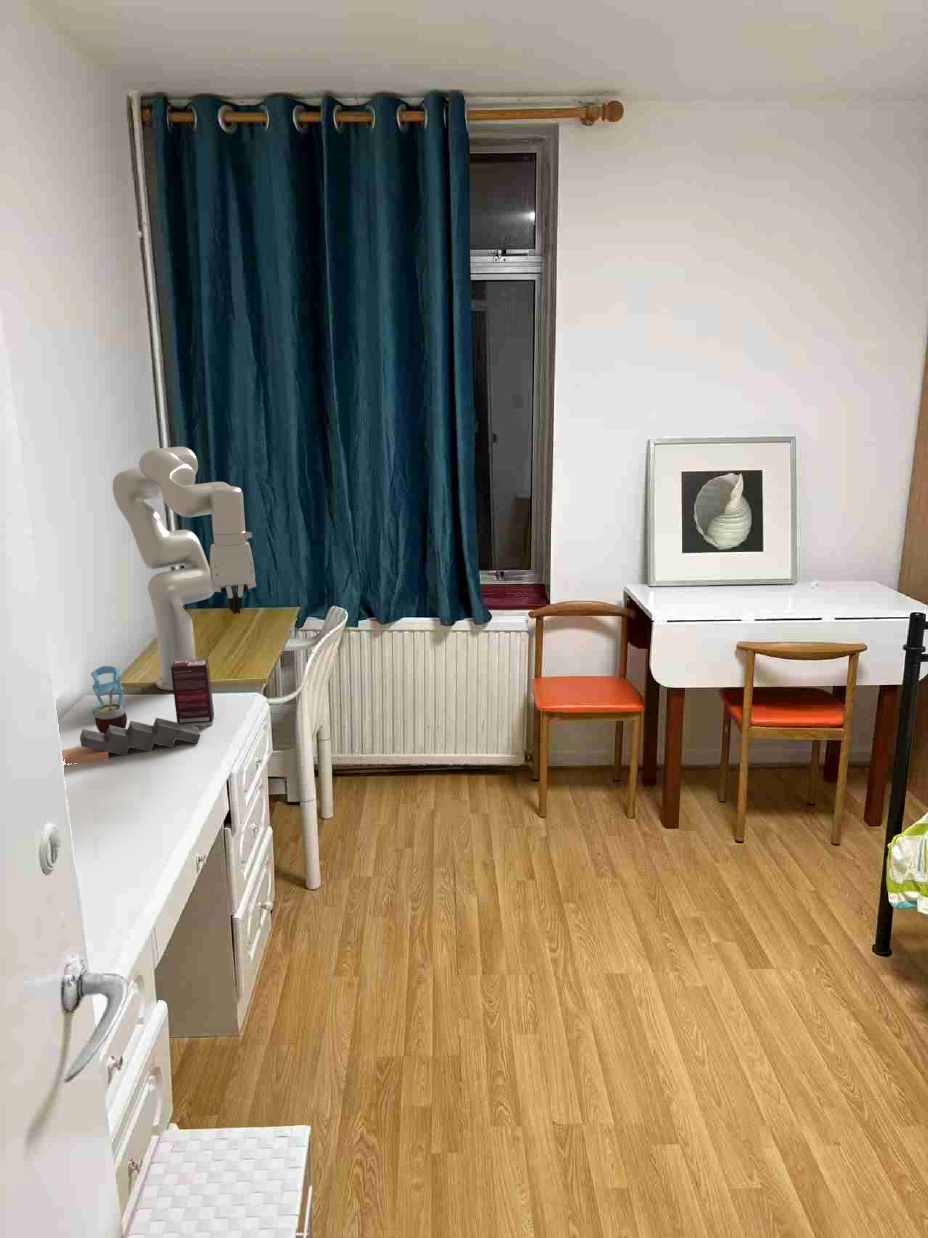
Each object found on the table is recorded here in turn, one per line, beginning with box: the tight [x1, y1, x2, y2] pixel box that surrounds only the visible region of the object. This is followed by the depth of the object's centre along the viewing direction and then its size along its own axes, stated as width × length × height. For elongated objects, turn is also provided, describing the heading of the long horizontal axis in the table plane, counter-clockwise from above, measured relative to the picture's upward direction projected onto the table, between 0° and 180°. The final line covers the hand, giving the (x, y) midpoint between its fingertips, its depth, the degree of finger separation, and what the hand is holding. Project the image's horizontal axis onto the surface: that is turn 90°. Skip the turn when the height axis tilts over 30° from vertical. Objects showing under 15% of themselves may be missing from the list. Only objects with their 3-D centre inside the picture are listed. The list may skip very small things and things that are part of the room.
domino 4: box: [152, 717, 201, 745], centre depth 226 cm, size 5×2×10 cm
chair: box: [90, 665, 125, 714], centre depth 243 cm, size 8×8×12 cm
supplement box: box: [171, 658, 215, 727], centre depth 236 cm, size 9×5×16 cm, turn 98°
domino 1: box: [79, 728, 130, 756], centre depth 219 cm, size 5×2×10 cm
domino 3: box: [127, 720, 176, 748], centre depth 223 cm, size 5×2×10 cm
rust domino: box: [61, 746, 110, 767], centre depth 218 cm, size 5×2×10 cm
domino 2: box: [106, 725, 155, 753], centre depth 222 cm, size 5×2×10 cm
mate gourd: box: [94, 687, 128, 734], centre depth 226 cm, size 8×8×15 cm
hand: (235, 612), depth 235 cm, fingers closed
